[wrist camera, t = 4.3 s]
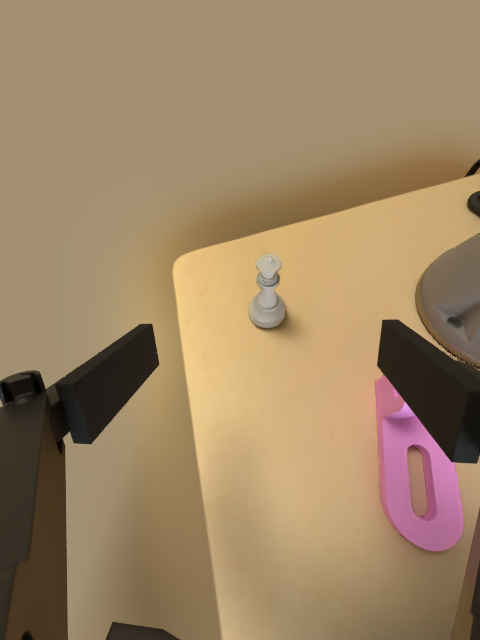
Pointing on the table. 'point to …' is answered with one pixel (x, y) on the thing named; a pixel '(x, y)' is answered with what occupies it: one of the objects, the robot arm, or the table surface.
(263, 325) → the chess piece
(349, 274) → the table surface
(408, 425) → the bracket
